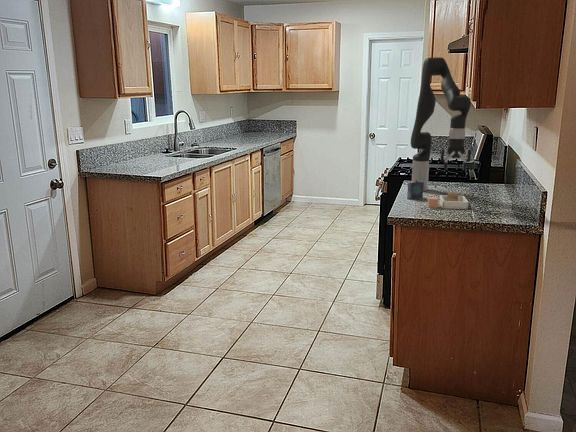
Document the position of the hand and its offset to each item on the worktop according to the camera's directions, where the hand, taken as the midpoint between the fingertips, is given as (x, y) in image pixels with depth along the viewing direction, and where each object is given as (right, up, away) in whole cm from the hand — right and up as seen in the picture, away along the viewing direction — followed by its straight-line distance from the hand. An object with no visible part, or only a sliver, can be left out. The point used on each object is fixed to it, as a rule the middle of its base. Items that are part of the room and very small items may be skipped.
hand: (454, 169), depth 253 cm
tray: (0, -18, +1) cm, 18 cm away
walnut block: (0, -16, +4) cm, 17 cm away
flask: (-15, -14, +19) cm, 28 cm away
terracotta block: (-12, -19, -2) cm, 22 cm away
